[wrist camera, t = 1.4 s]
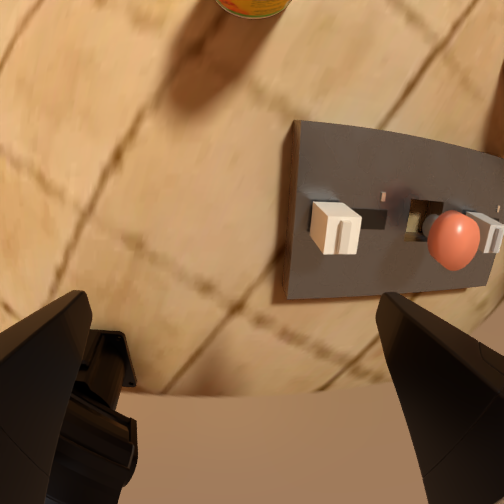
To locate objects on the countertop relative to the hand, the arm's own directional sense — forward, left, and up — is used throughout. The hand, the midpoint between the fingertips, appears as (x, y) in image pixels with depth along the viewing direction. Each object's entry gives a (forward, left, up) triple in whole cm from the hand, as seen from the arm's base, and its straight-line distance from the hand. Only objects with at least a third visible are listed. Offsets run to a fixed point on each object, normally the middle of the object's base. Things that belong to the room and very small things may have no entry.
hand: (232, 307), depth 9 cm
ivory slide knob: (-1, -6, -11) cm, 13 cm away
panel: (-1, -14, -13) cm, 19 cm away
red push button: (-1, -14, -10) cm, 18 cm away
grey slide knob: (-1, -19, -11) cm, 22 cm away
